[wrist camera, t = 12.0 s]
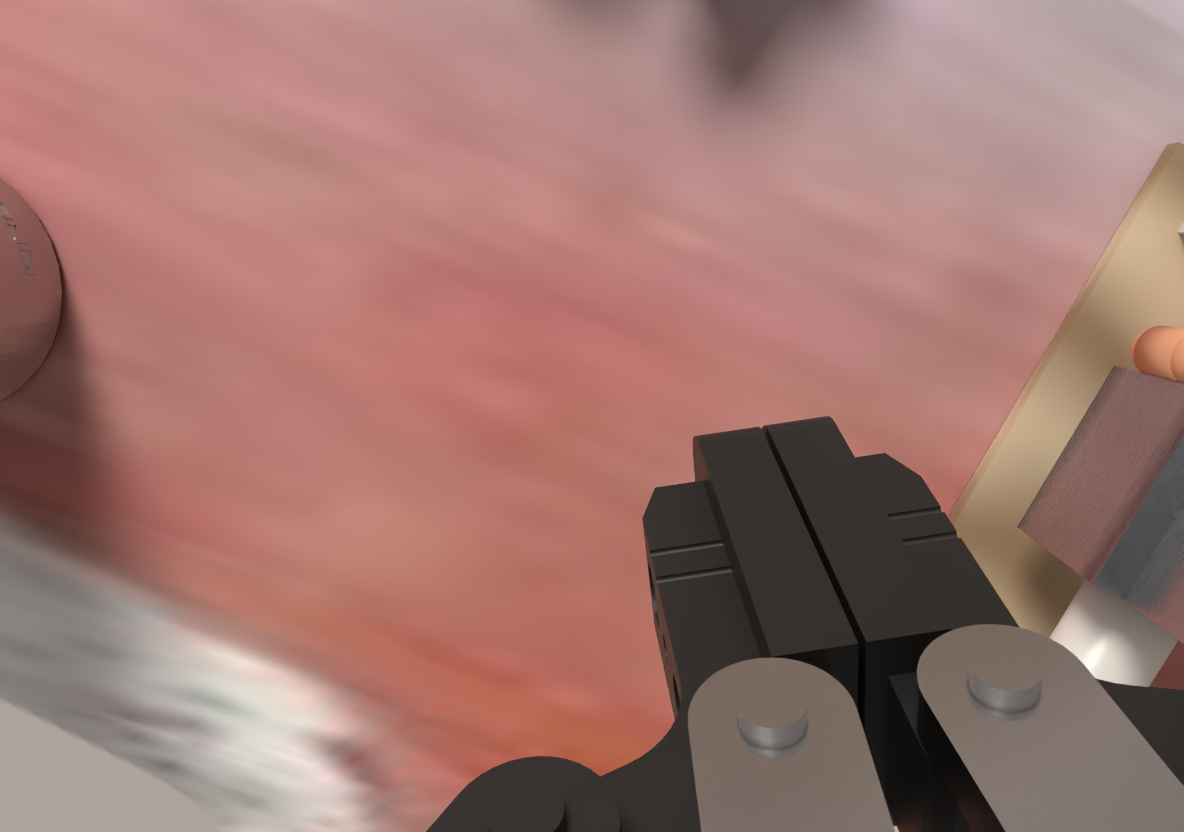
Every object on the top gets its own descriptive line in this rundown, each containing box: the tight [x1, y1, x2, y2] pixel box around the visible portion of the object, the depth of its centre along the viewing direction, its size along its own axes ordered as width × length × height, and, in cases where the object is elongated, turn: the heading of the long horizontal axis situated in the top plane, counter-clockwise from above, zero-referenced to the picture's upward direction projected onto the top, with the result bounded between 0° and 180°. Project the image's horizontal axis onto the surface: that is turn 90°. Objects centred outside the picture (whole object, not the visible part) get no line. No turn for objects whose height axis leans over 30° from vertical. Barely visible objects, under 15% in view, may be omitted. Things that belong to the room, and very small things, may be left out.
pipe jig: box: [1049, 223, 1184, 687], centre depth 35 cm, size 30×5×8 cm, turn 153°
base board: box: [893, 143, 1184, 832], centre depth 39 cm, size 31×8×1 cm, turn 153°
